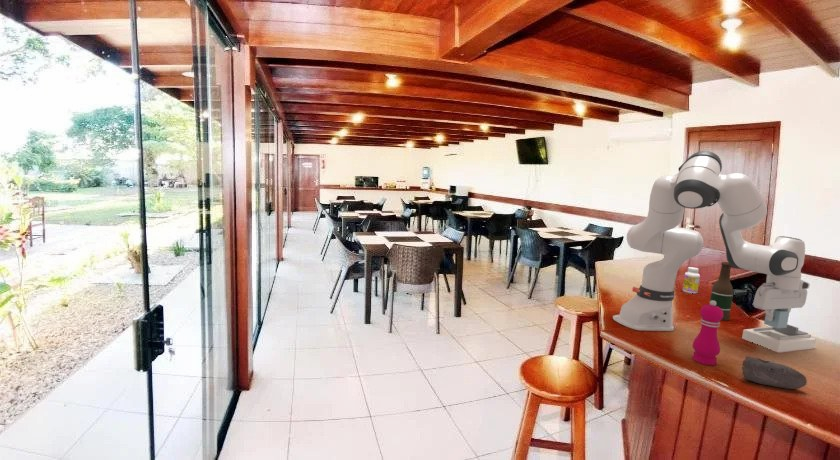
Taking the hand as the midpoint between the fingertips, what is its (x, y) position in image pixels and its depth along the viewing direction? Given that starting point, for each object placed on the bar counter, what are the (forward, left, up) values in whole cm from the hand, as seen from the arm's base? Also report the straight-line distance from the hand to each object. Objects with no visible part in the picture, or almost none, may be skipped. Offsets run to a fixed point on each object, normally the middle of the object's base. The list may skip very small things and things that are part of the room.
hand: (776, 320), depth 146 cm
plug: (0, 0, -2) cm, 2 cm away
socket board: (+3, 0, -9) cm, 10 cm away
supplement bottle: (+32, +60, -9) cm, 69 cm away
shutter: (+9, 0, -5) cm, 11 cm away
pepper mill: (-39, -6, -9) cm, 40 cm away
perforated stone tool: (-34, -22, -10) cm, 41 cm away
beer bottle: (+8, +26, -9) cm, 29 cm away
